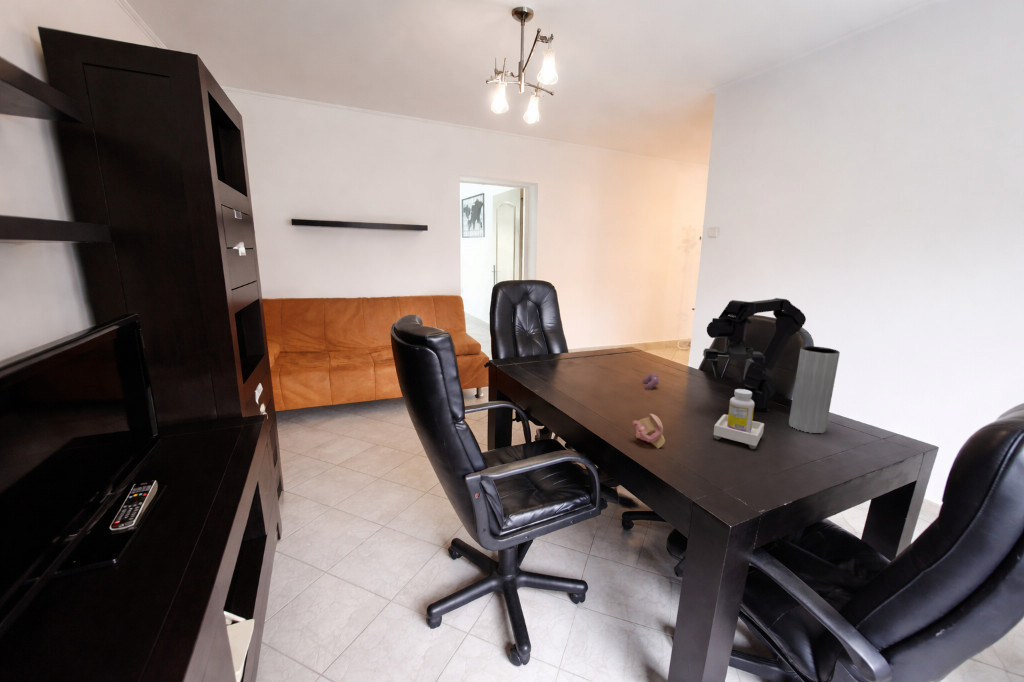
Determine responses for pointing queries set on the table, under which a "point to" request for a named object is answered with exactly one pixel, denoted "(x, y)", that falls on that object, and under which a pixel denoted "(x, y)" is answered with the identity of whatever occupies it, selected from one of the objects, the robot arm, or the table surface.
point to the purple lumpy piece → (651, 381)
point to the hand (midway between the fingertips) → (730, 378)
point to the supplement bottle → (741, 411)
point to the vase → (813, 388)
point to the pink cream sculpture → (650, 430)
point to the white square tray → (738, 432)
